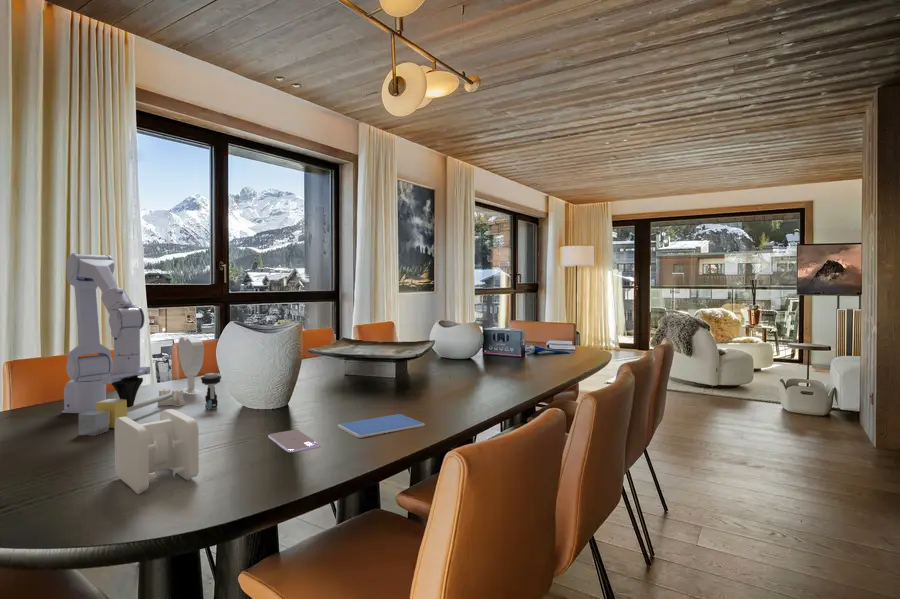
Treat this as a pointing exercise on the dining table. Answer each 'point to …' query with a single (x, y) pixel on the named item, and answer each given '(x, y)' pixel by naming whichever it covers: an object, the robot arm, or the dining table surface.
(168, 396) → the rod
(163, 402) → the cable comb
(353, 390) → the dining table surface
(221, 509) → the dining table surface
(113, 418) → the matte pale yellow cube
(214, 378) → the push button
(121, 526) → the dining table surface
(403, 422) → the tablet computer
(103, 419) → the connector
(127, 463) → the cable organizer
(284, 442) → the mobile phone
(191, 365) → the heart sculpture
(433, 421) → the dining table surface
